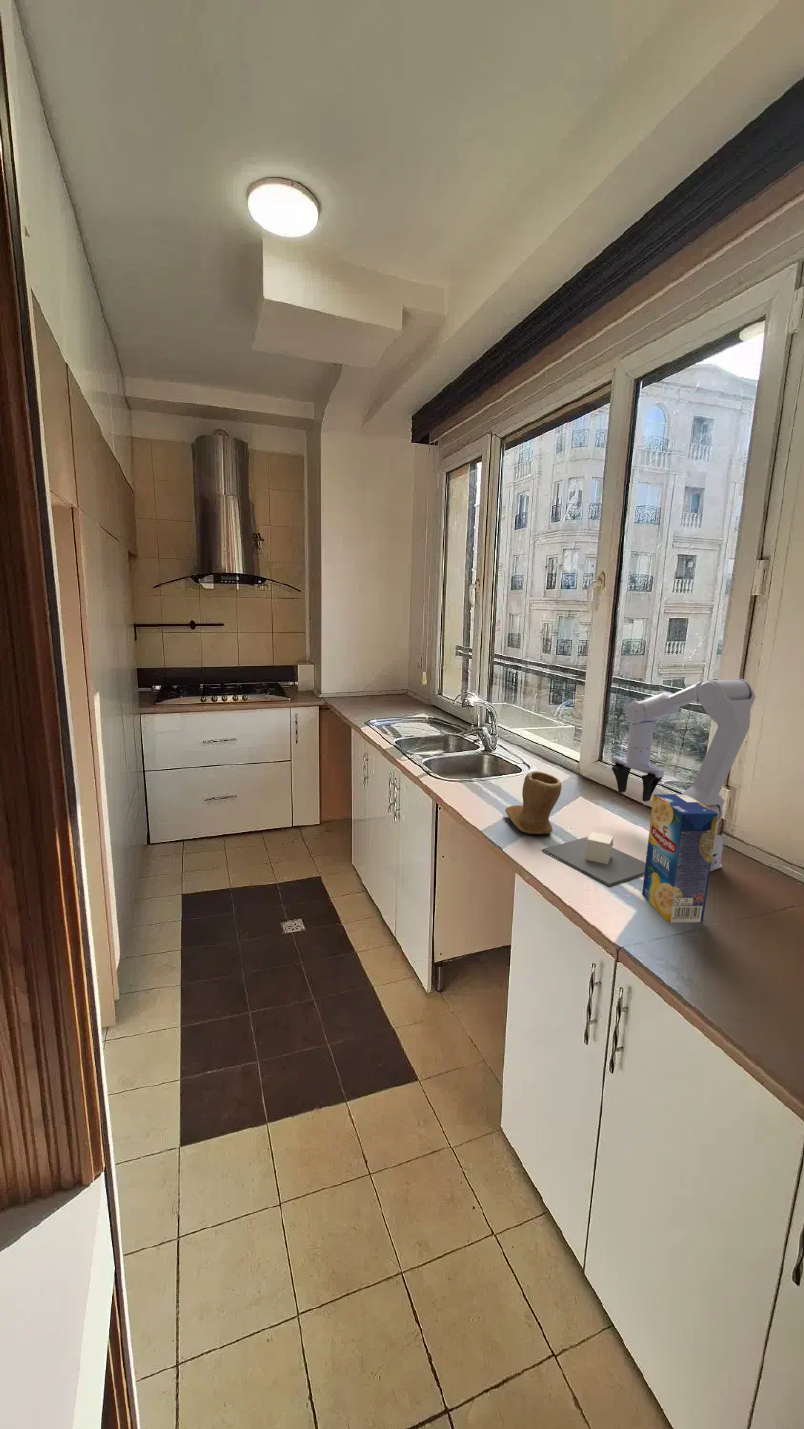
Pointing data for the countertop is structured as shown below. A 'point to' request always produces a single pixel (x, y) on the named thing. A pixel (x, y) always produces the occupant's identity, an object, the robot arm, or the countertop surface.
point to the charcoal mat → (609, 874)
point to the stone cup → (536, 803)
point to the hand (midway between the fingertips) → (633, 796)
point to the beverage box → (679, 857)
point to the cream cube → (599, 848)
